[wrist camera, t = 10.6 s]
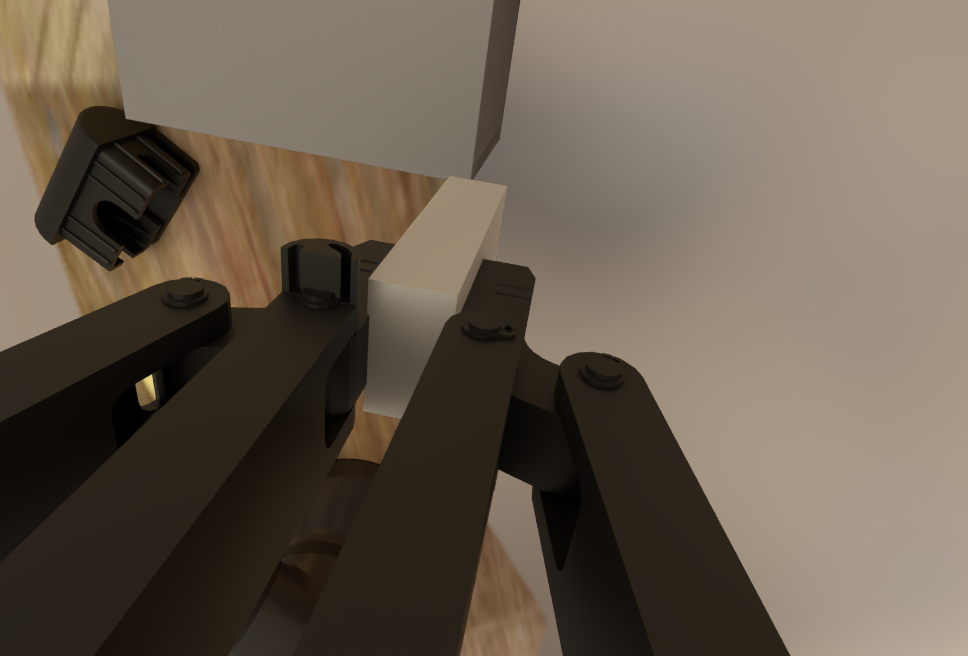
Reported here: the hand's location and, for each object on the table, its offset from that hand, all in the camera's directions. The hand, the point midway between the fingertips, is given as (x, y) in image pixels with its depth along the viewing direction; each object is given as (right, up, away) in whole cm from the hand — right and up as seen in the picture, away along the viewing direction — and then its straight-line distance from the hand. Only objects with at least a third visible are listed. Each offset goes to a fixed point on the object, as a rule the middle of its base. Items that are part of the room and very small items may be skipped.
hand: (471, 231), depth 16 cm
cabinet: (-7, +19, +24) cm, 31 cm away
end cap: (-27, +10, +33) cm, 44 cm away
